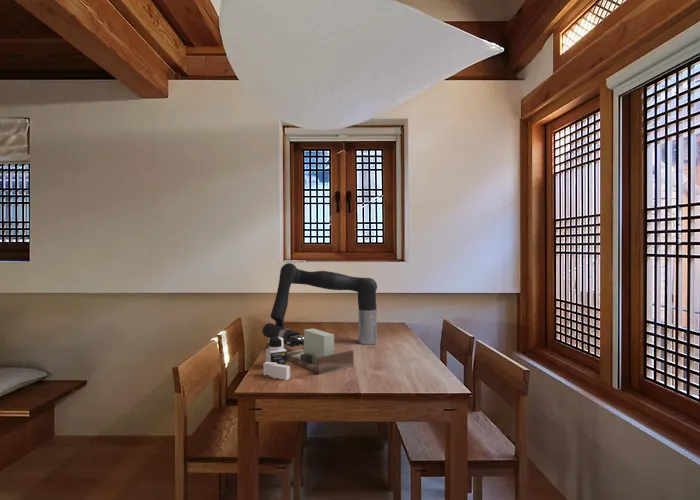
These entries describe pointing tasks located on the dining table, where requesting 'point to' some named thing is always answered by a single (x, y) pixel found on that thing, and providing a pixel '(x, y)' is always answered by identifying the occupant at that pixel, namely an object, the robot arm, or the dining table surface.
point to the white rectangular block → (276, 370)
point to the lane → (323, 361)
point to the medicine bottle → (276, 351)
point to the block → (318, 343)
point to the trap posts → (307, 358)
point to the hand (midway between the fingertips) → (308, 344)
